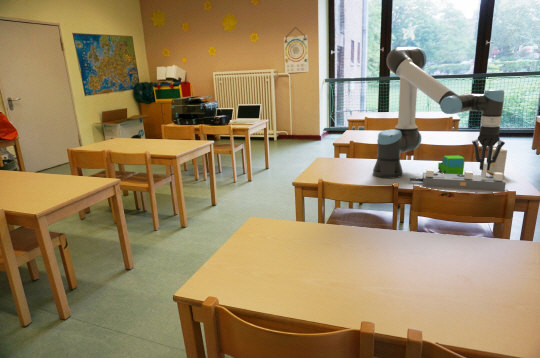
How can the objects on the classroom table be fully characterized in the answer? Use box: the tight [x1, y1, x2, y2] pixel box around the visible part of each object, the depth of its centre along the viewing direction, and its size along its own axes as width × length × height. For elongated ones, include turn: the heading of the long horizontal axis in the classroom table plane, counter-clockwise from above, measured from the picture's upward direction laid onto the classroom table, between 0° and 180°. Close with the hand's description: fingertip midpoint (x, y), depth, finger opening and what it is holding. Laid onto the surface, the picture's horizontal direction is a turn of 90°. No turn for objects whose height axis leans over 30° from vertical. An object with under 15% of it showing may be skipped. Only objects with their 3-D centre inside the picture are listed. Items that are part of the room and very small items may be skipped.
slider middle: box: [463, 170, 474, 179], centre depth 169 cm, size 3×3×3 cm
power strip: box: [409, 172, 507, 192], centre depth 174 cm, size 40×10×4 cm, turn 70°
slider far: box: [492, 172, 504, 181], centre depth 166 cm, size 3×3×3 cm
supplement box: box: [487, 146, 508, 176], centre depth 189 cm, size 8×5×13 cm, turn 179°
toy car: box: [437, 155, 466, 175], centre depth 192 cm, size 10×13×10 cm
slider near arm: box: [425, 168, 435, 177], centre depth 175 cm, size 3×3×3 cm
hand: (483, 176), depth 168 cm, fingers closed
